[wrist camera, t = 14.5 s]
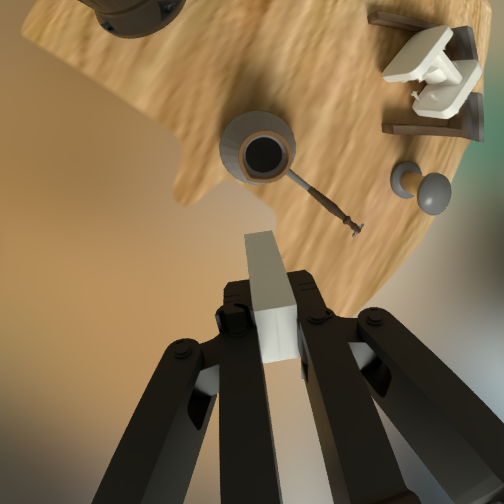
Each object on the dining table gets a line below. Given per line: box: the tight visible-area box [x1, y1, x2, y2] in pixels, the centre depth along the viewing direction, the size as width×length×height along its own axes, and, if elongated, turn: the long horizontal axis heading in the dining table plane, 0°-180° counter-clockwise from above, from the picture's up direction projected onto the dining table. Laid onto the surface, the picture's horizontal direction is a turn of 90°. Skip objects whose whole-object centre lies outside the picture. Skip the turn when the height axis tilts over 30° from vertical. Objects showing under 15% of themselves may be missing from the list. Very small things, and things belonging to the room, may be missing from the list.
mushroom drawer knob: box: [390, 161, 451, 215], centre depth 43 cm, size 7×7×10 cm
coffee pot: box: [219, 111, 364, 237], centre depth 39 cm, size 21×12×15 cm, turn 54°
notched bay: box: [367, 11, 484, 142], centre depth 35 cm, size 22×18×9 cm
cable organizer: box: [382, 25, 482, 119], centre depth 33 cm, size 15×11×12 cm
